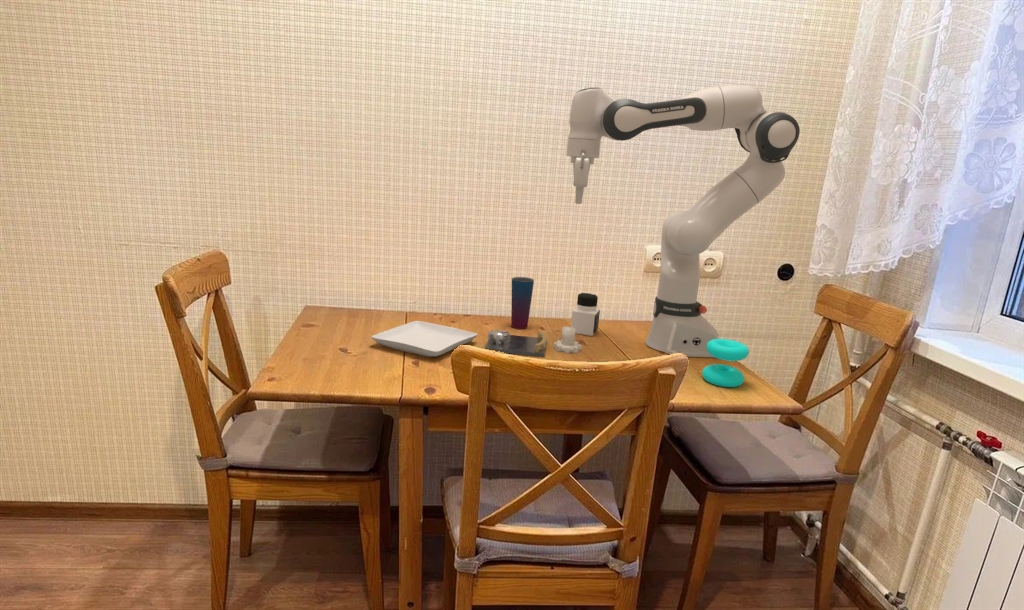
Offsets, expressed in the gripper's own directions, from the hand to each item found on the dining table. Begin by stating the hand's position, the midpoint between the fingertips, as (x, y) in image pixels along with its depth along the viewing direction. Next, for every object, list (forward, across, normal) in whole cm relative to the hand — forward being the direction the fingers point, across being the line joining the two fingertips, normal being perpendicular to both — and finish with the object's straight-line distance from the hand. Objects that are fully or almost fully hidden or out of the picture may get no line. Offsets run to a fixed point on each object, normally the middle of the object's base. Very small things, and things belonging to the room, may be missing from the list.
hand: (578, 202), depth 166 cm
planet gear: (+40, -9, 0) cm, 41 cm away
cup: (+40, +9, +15) cm, 43 cm away
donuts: (+40, -22, -40) cm, 61 cm away
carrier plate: (+40, -11, +13) cm, 43 cm away
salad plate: (+40, -17, +38) cm, 58 cm away
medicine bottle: (+40, +10, -5) cm, 42 cm away
